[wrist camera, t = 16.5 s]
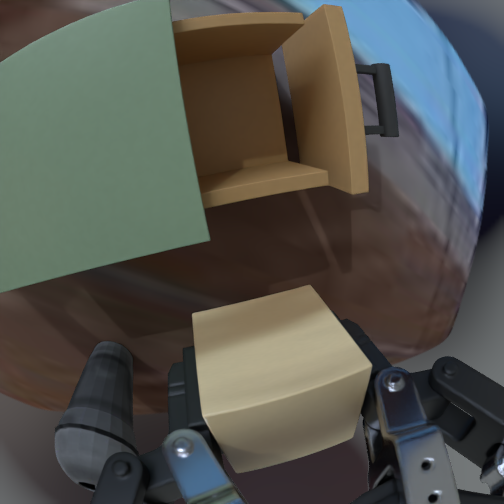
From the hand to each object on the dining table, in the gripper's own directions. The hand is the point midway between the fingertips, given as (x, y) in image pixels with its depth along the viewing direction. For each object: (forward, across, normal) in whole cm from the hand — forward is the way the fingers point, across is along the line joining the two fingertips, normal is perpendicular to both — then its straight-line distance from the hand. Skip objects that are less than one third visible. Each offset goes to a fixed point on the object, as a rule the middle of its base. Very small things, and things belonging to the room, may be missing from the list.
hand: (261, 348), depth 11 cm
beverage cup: (+14, +14, +11) cm, 23 cm away
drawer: (+13, -4, -9) cm, 17 cm away
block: (0, 0, 0) cm, 0 cm away
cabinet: (+14, +8, -9) cm, 19 cm away
